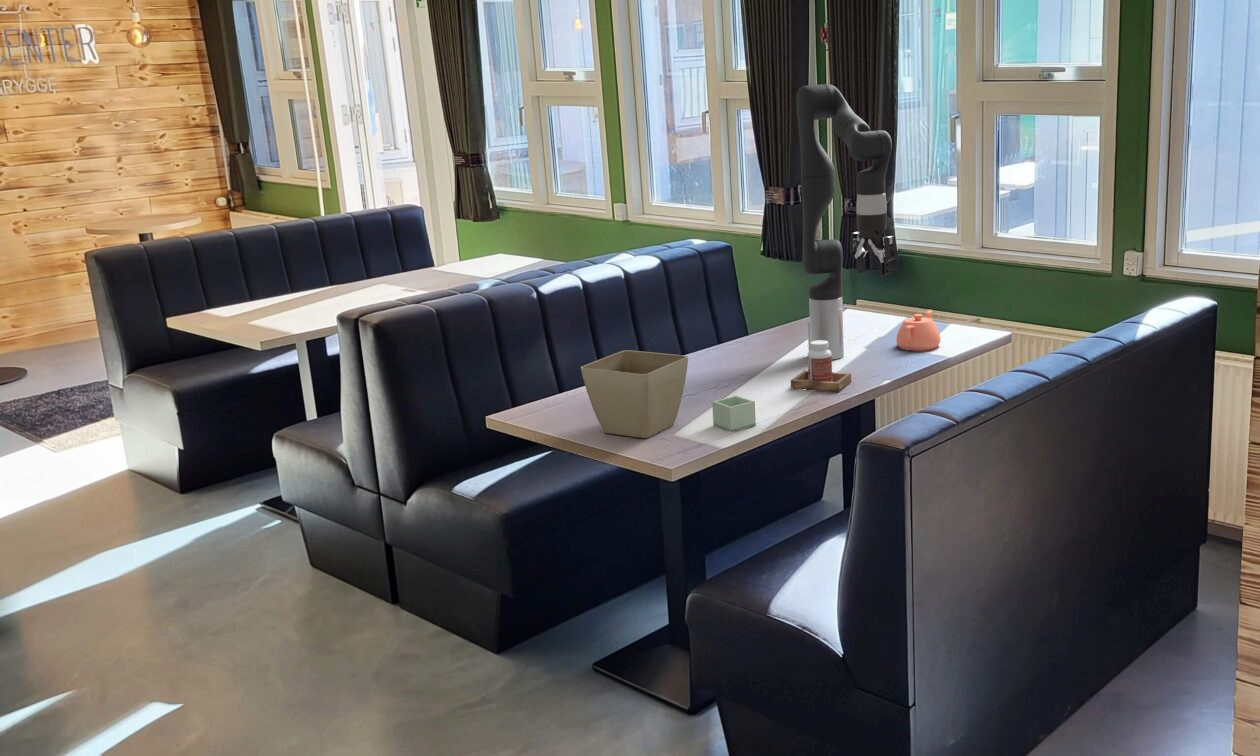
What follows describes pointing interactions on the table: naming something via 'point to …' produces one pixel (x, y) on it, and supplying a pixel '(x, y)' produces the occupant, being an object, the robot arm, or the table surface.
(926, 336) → the teapot
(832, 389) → the tray
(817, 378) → the pill bottle
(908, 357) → the table surface
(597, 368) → the flower pot
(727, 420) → the pale green bin
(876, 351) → the table surface
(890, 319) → the table surface
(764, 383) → the table surface
